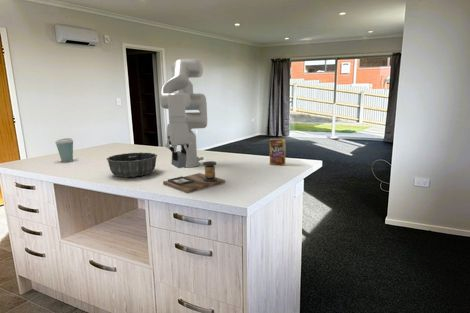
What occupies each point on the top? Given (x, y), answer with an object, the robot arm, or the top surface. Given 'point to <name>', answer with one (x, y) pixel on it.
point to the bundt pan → (132, 164)
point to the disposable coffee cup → (65, 149)
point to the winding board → (196, 180)
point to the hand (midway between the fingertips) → (179, 159)
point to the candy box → (277, 151)
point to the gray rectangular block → (180, 160)
